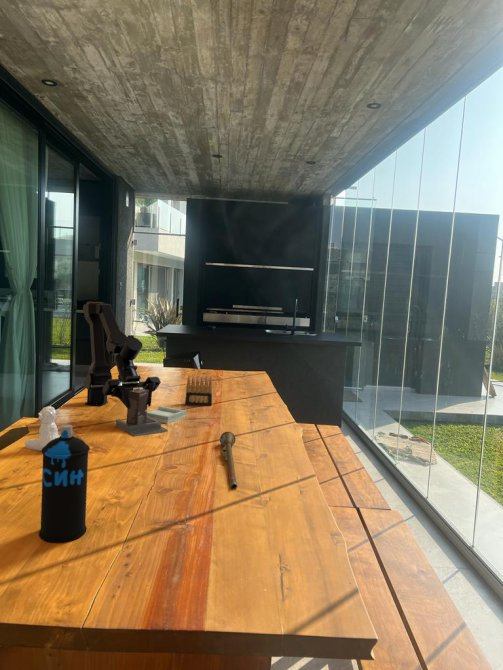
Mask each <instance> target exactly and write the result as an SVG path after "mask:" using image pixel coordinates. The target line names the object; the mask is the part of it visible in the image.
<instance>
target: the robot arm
mask: <svg viewBox="0 0 503 670" xmlns="http://www.w3.org/2000/svg"><path fill="white" fill-rule="evenodd" d="M82 312H83V314H84V319H85V320H86V322H87V324H88V325H89V332H90V335H89V337H90V346H91V347H90V350H91V364H90V366H89V367H88V370H87V375H86V377H85V379H84V381H83V387H84V389H87V396H86V397H87V398H86V402H85V403H84V404H85V405H88V406H89V405H90V406H97V407H98V406H99V407H100V406H103V405H106V404H108V396H111V397H115V398H117V399H118V400H119V401H121V402H122V404H123V405H124V406H125V407H126V408H128V409H129V408H130V403H129V399H128V395H129V391H131V390H134V389H138V388H140V389H145V390H149V393H148V405H147V407H151V406H152V396H153V395H152V394H153V392H155V391H156V390H157V389H158V387H159V386H160V384H161V380H160V379H161V378H159V376H147V377H146V379H145V380H144V381H140V380H141V379H142V378H141V377H142V376H141V375H139V374H138V372H137V370H138V366H137V365H135V364H134V360H135V359H136V358H137V357H138V356H139V354H140V352H141V350H142V348H143V343H142V341H141V340H140V339H138V338H136V337H135V336H134V335H133V334H129V335H126V334H125V333H123V332H122V331H121V329H120V327H119V325H118V324H119V323H118V322H117V319H116V317H115V315H114V312H113V306H112V305H111V304H110V303H105V302H103V301H86V303H84V304H83V306H82ZM104 332H105V334H106V338H107V340H106V342H105V339H104ZM105 345H106V350H107V352H108V355H116V356H115V357H114V359H113V360H114V361H113V363H112V365H113V366H116V369H117V372H118V375H117V378H114V379H113V375H112V367H111V365H110V364H108V363H107V362H106V356H105V355H106V354H105V353H106V352H105Z"/></svg>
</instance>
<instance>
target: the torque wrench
mask: <svg viewBox="0 0 503 670" xmlns="http://www.w3.org/2000/svg"><path fill="white" fill-rule="evenodd" d="M219 443H220V444H221V446H223V448H222V450H221V454H222V456H223V459H224V460H225V462H227V466H228V467H227V468H228V476H229V483H230V485H229V486H230V487H229V488H230V489H233V486H234V489H235V490H236V489H238V482H237V478H236V476H237V475H236V472H235V471H236V470H235V462H234V456H233V450H232V446H233V445H235V443H236V435H234V433H233V432H232V431H224V432H223V433H222V434H221V435H220V436H219Z"/></svg>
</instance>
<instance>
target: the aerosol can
mask: <svg viewBox="0 0 503 670" xmlns="http://www.w3.org/2000/svg"><path fill="white" fill-rule="evenodd" d="M59 436H60V437H58V438H55V439H53V440H51V441H50V442H49V443H48V444H47V445H46V446H45V447H43V448H42V451H40V452H41V454H42V472H41V473H42V475H41V476H42V477H41V480H42V481H41V506H40V508H41V509H40V513H41V514H40V529H39V531H38V536H39V538H40V539H41V540H42V541H45V542H47V543H52V544H53V543H55V544H58V543H59V544H62V543H63V544H64V543H69V542H73V541H75V540H78V539H79V538H81V537H82V536H83V535H85V534H86V532H87V525H86V521H87V520H86V516H87V515H86V514H87V513H86V512H87V491H88V489H87V488H88V466H89V464H88V463H89V452H90V449H91V447H90V446H89V445H88V444H87V443H86V441H84V440H83V439H81V438H79V437H77V436H76V437H75V436H73V425H72V424H63V425H61V426H60V435H59Z"/></svg>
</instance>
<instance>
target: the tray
mask: <svg viewBox="0 0 503 670" xmlns="http://www.w3.org/2000/svg"><path fill="white" fill-rule="evenodd" d="M147 416H150V417H152V418H154V419H156V420H158V421H160V422H161V424H162V423H163V424H167V425H168V424H170V423H173V422H176V421H180V420H181V419H184V418H186V417H187V410H185V409H179V408H173V407H167V406H163V405H158V407H157V409H154V410H151V411H147Z"/></svg>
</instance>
